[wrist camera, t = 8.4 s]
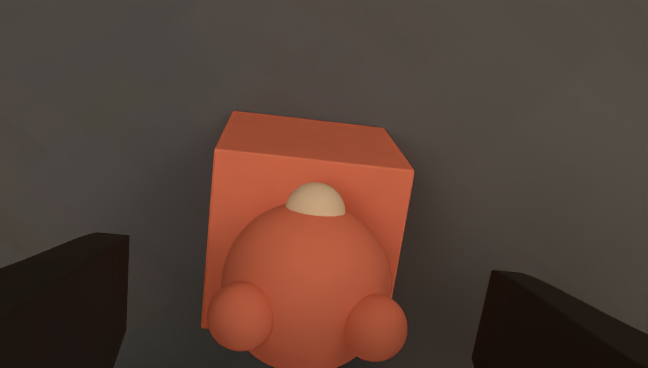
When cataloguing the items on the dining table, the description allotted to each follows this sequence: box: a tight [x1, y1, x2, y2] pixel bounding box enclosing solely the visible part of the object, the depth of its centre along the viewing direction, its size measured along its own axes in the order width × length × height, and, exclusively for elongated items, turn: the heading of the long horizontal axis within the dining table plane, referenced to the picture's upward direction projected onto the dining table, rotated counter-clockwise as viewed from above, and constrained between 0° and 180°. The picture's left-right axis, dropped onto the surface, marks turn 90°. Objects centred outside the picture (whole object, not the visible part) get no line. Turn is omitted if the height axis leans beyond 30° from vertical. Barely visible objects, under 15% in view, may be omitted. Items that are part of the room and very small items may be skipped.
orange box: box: [201, 111, 415, 368], centre depth 14 cm, size 4×4×8 cm
